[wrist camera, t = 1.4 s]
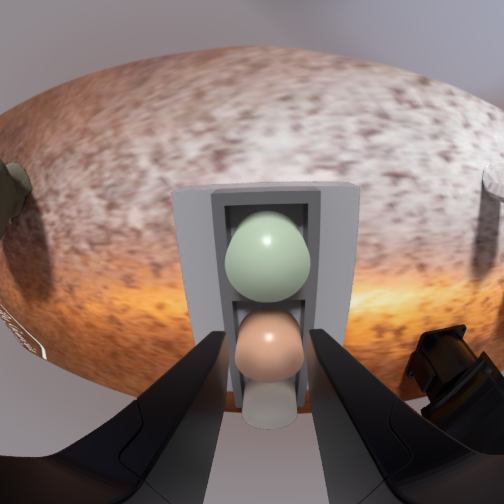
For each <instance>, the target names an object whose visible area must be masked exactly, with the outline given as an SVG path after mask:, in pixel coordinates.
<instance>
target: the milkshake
mask: <svg viewBox="0 0 504 504" xmlns="http://www.w3.org/2000/svg"><path fill="white" fill-rule="evenodd" d="M482 180H483V185H484V190H485V191H486V193H487V194H488V195H489V196H490V197H492V198H494V199H496V200H498V201H500V202H502V203H504V164H494V163H489V164H488V165H487V167H486V168H485V169H484V174H483V179H482Z"/></svg>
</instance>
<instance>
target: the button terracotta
mask: <svg viewBox="0 0 504 504" xmlns="http://www.w3.org/2000/svg"><path fill="white" fill-rule="evenodd" d="M303 361H304V353H303V347H302V340H301V334H300V328H299V324H298V322H297V320H296V319H295V317H294V316H293V315H292V314H290V313H289V312H287V311H285V310H283V309H279V308H274V307H265V308H260V309H257V310H254V311H252V312H250V313H249V314H248V315H246V316H245V317H244V318H243V320H242V321H241V323H240V326H239V332H238V338H237V345H236V352H235V364H236V366H237V368H238V369H239V371H240V372H241V373H242V374H243V375H245V376H246V377H248V378H250V379H252V380H255V381H259V382H269V383H270V382H279V381H282V380H285V379H288V378H290V377H291V376H293V375H294V374H296V373H297V372H298V371H299V369H300V368H301V366H302V364H303Z"/></svg>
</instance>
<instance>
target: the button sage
mask: <svg viewBox="0 0 504 504" xmlns="http://www.w3.org/2000/svg"><path fill="white" fill-rule="evenodd" d="M225 270H226V274H227V277H228V279H229V281H230V283H231V284H232V286H233V287H234V288H235V289H236V290H237V291H238V292H239V293H240V294H242V295H243V296H245V297H247V298H249V299H251V300H254V301H258V302H277V301H281V300H284V299H286V298H288V297H290V296H292V295H293V294H295V293H296V292H297V291H298V290H299V289H300V288H301V287H302V286H303V285H304V283H305V281H306V280H307V277H308V275H309V271H310V255H309V251H308V248H307V246H306V244H305V241H304V239H303V236H302V234H301V232H300V230H299V228H298V226H297V225H296V224H295V222H294V221H293V220H291V219H290V218H289V217H287V216H286V215H284V214H282V213H279V212H275V211H260V212H256V213H253V214H251V215H249V216H247V217H246V218H245V219H243V220H242V221H241V222H240V223H239V225H238V226H237V228H236V229H235V231H234V234H233V236H232V239H231V242H230V244H229V247H228V250H227V253H226V256H225Z"/></svg>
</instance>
